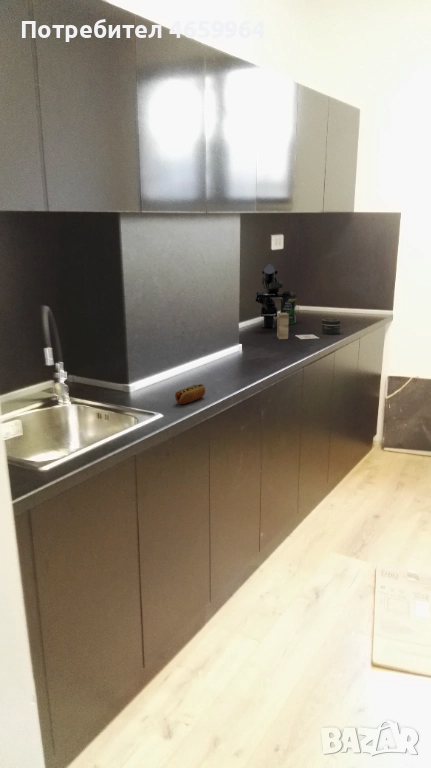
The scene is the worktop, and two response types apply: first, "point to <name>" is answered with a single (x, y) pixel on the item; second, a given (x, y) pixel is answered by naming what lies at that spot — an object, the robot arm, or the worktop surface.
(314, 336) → the card
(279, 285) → the robot arm
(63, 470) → the worktop surface
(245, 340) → the worktop surface
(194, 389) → the hot dog
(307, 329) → the worktop surface
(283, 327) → the oak block
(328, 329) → the jar
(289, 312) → the coffee jar
